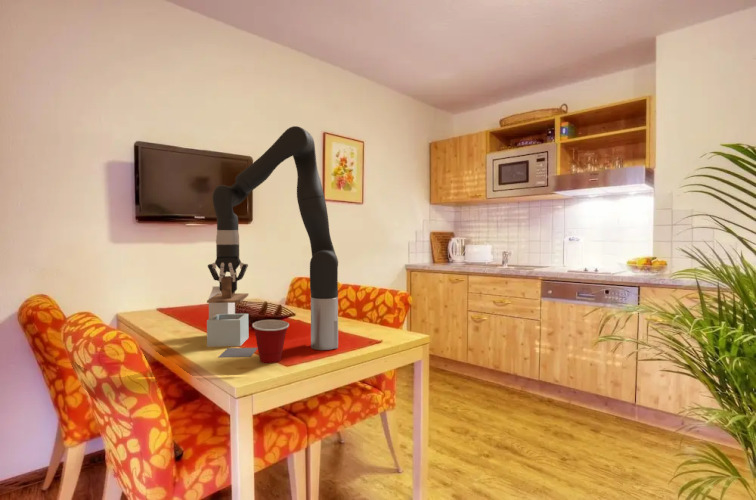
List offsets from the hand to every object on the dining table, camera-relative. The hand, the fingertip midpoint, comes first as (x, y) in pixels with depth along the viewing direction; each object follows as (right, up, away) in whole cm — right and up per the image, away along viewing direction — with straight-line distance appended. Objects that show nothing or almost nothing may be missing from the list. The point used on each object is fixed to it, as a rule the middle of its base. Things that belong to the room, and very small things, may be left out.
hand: (228, 292), depth 139 cm
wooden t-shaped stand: (0, -3, 0) cm, 3 cm away
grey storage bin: (0, -18, +1) cm, 18 cm away
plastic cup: (+20, -19, -20) cm, 34 cm away
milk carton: (-6, -18, +11) cm, 22 cm away
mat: (+8, -19, -12) cm, 23 cm away
